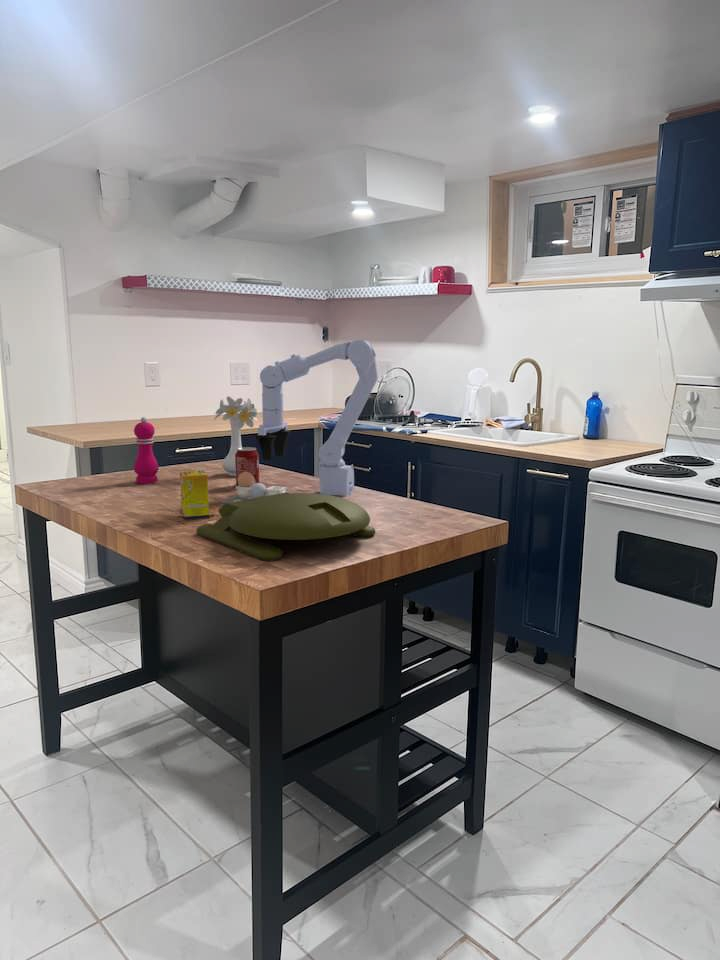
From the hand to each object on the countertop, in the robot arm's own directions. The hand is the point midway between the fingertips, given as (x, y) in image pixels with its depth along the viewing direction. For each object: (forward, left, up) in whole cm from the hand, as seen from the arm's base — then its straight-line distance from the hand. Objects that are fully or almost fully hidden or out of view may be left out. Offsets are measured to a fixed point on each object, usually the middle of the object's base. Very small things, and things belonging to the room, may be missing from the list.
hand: (273, 458), depth 197 cm
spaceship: (-24, +39, -11) cm, 47 cm away
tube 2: (-6, +10, -9) cm, 15 cm away
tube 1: (+4, +10, -9) cm, 14 cm away
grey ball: (-1, +12, -7) cm, 14 cm away
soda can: (+11, -4, -11) cm, 16 cm away
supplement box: (+7, +30, -11) cm, 33 cm away
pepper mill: (+44, -2, -11) cm, 45 cm away
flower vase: (+24, -23, -11) cm, 35 cm away
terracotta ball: (+4, +10, -5) cm, 12 cm away
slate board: (-1, +12, -10) cm, 16 cm away
